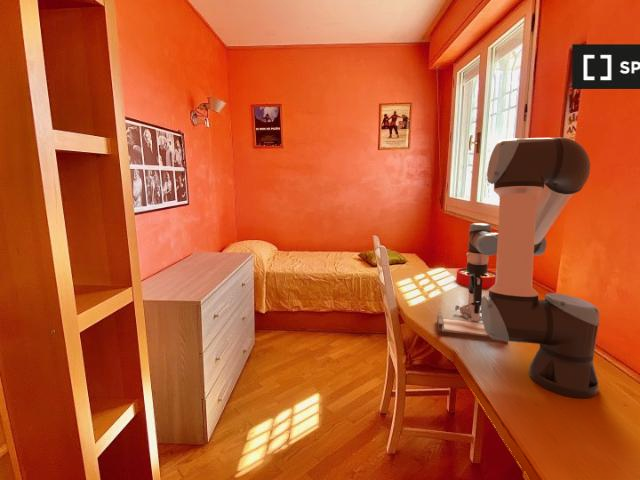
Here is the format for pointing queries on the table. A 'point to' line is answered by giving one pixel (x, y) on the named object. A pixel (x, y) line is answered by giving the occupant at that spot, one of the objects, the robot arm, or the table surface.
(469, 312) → the soldier figure
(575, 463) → the table surface
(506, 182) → the robot arm
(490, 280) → the toy clock
